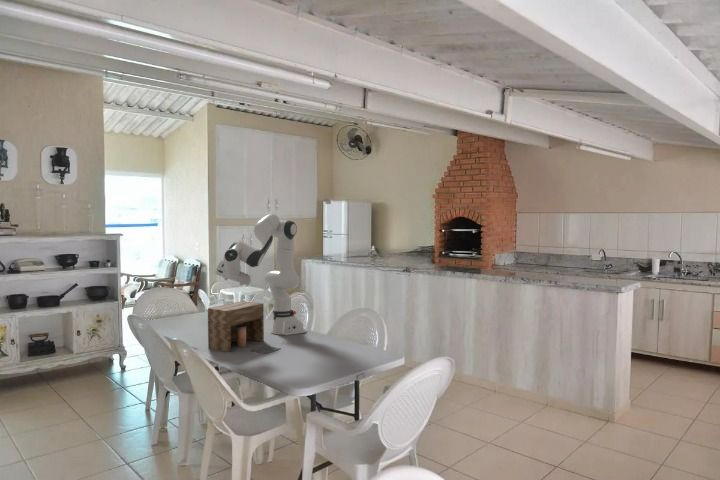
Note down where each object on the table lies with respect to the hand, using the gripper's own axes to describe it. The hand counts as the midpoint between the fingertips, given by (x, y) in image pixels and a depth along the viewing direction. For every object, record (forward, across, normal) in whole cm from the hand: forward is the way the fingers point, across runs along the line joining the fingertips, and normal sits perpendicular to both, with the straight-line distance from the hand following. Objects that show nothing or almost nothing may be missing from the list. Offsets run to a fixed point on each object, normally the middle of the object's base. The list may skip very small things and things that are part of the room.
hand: (233, 281), depth 300 cm
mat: (+5, -32, +30) cm, 45 cm away
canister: (+15, -17, +29) cm, 37 cm away
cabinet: (+17, -14, +28) cm, 36 cm away
